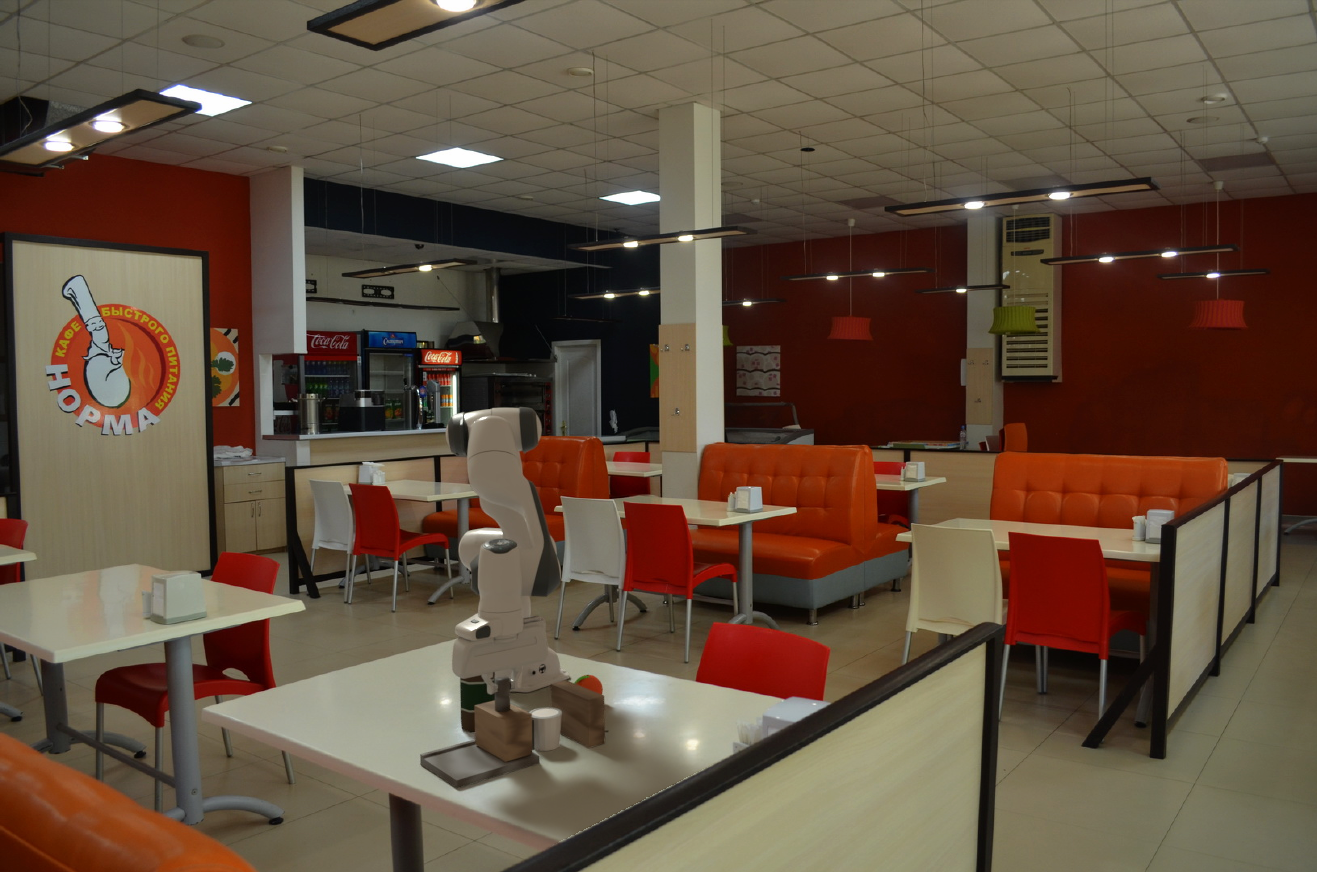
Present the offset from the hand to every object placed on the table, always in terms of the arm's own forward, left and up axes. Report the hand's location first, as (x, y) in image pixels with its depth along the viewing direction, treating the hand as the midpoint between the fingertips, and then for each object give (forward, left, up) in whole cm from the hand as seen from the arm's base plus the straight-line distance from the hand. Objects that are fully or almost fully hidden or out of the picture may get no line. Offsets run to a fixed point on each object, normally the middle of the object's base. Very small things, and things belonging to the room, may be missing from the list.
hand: (502, 690), depth 188 cm
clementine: (-31, -15, -14) cm, 37 cm away
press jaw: (0, 0, -12) cm, 12 cm away
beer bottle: (-5, -19, -14) cm, 24 cm away
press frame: (-3, 0, -14) cm, 14 cm away
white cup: (-10, 0, -14) cm, 17 cm away
